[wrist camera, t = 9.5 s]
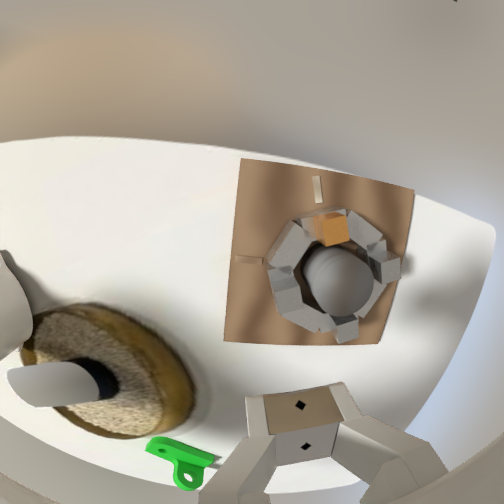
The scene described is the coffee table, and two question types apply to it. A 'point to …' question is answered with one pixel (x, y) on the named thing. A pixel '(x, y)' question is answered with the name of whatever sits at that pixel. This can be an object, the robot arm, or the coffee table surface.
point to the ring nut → (328, 233)
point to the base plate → (268, 222)
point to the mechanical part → (182, 460)
